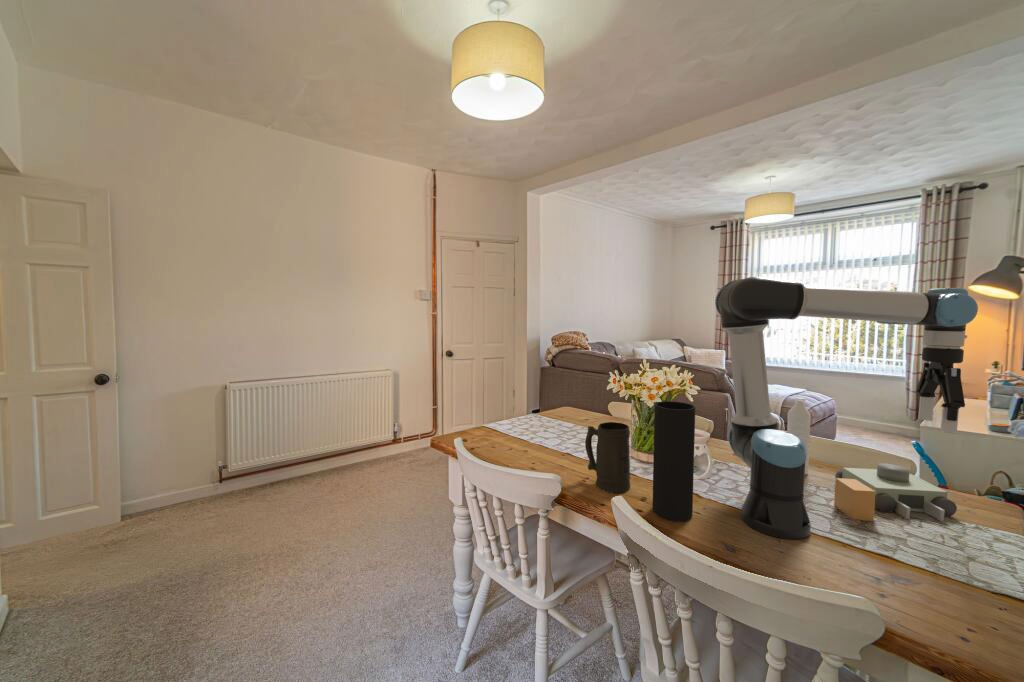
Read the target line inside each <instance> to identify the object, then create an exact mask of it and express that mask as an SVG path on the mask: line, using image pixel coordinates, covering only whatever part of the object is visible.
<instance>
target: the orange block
mask: <svg viewBox="0 0 1024 682" xmlns="http://www.w3.org/2000/svg"><path fill="white" fill-rule="evenodd" d="M834 485H835V486H834V498H833V499H834V501H833V505H834V506H835V507H836V508H837V509H839V510H840V511H841V512H843V514H845V515H846V516H848V518H850V519H852V520H857V519H858V520H859V521H861V520H862V521H871V522H872V521H874V520H875V508H874V507H875V491H874V490H872V489H871V488H869V487H867V486H866V485H864V484H862V483H861V482H859V481H858V480H856V479H844V478H835V481H834Z"/></svg>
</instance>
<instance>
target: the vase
mask: <svg viewBox="0 0 1024 682" xmlns="http://www.w3.org/2000/svg"><path fill="white" fill-rule="evenodd" d="M653 411H654V417H653V419H654V420H653V421H654V422H653V458H652V459H653V462H652V463H653V464H652V465H653V467H652V468H653V469H652V506H651V507H652V508H651V509H652V512H653V513H654V514H655V515H656V516H658V517H660V519H662V520H667V521H670V522H674V523H675V522H677V523H682V522H687V520H688V521H689V520H690V519H691V520H692V518H693V511H694V509H693V508H694V507H693V505H694V472H695V471H694V470H695V469H694V468H695V467H694V466H695V433H696V431H695V430H696V406H695V405H694V404H691V403H686V402H682V401H673V400H669V401H668V400H667V401H665V400H664V401H657V402H655V403H654V410H653Z"/></svg>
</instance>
